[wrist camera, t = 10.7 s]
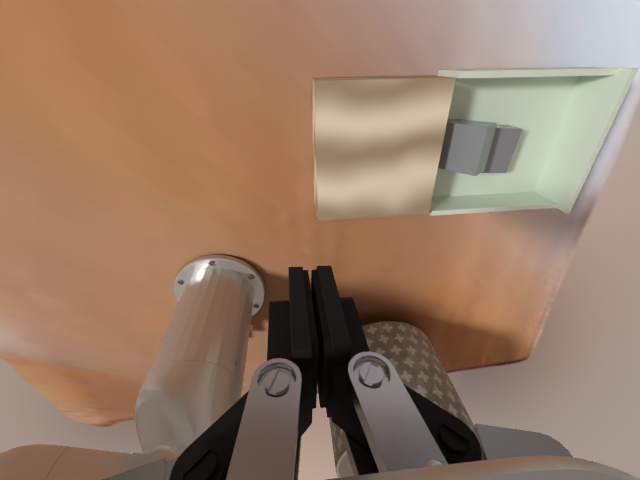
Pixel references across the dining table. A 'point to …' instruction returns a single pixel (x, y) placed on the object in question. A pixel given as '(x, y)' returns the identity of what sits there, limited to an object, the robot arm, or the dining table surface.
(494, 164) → the tile rear
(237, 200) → the dining table surface
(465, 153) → the tile front
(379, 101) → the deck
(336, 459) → the planter
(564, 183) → the tray
